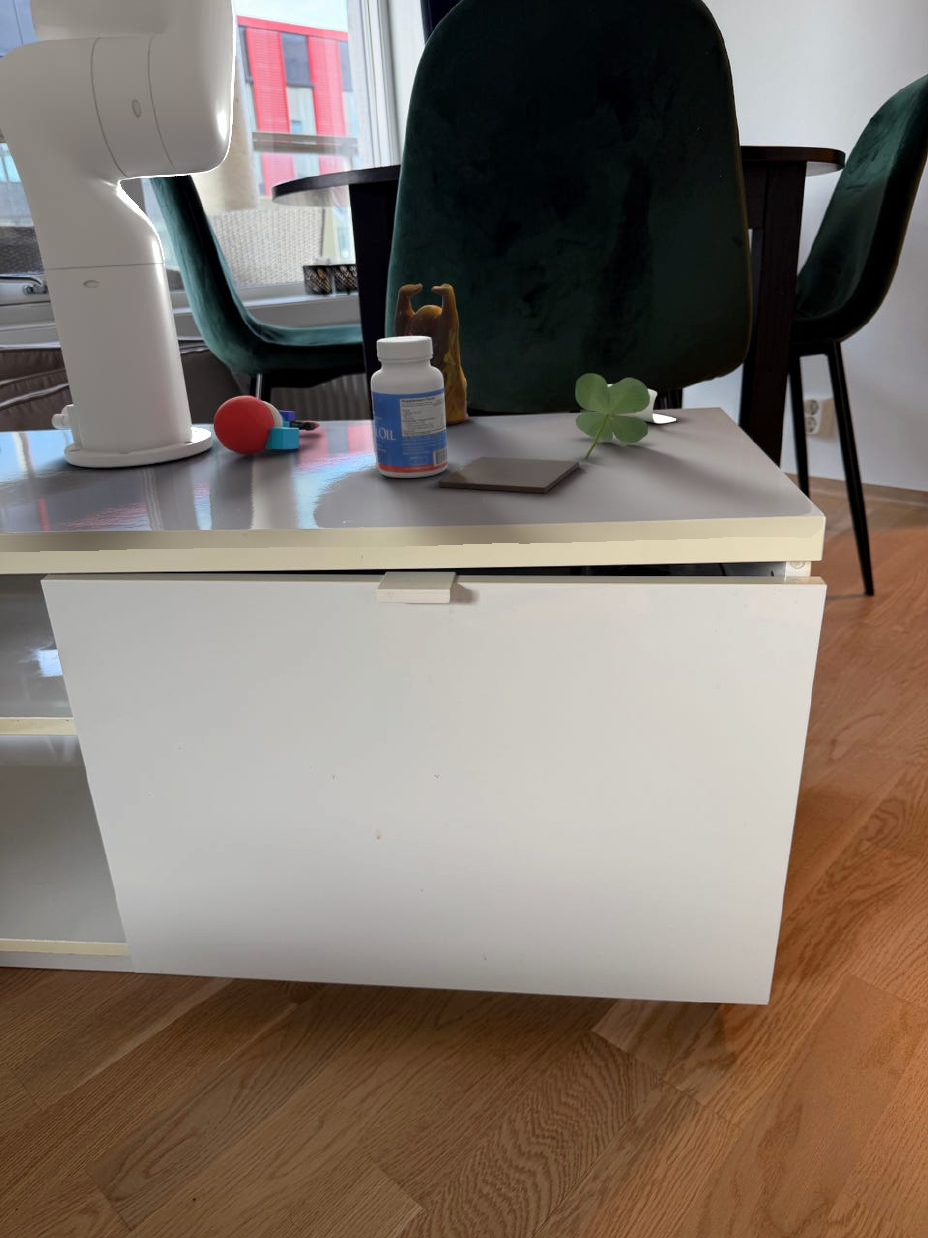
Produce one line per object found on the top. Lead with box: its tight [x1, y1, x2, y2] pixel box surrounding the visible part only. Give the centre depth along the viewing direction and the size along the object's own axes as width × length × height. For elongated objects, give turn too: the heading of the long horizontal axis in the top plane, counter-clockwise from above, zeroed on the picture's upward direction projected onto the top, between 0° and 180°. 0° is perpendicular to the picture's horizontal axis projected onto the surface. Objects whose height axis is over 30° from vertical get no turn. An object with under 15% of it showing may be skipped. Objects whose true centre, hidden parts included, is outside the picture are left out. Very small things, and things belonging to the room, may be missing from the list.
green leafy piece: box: [574, 372, 650, 461], centre depth 70 cm, size 7×8×7 cm
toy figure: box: [213, 395, 320, 455], centre depth 79 cm, size 8×5×15 cm
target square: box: [437, 456, 580, 494], centre depth 64 cm, size 8×8×1 cm
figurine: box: [393, 283, 469, 426], centre depth 85 cm, size 6×7×13 cm
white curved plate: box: [607, 383, 677, 424], centre depth 83 cm, size 4×8×3 cm, turn 31°
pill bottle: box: [370, 336, 449, 479], centre depth 66 cm, size 6×5×10 cm
